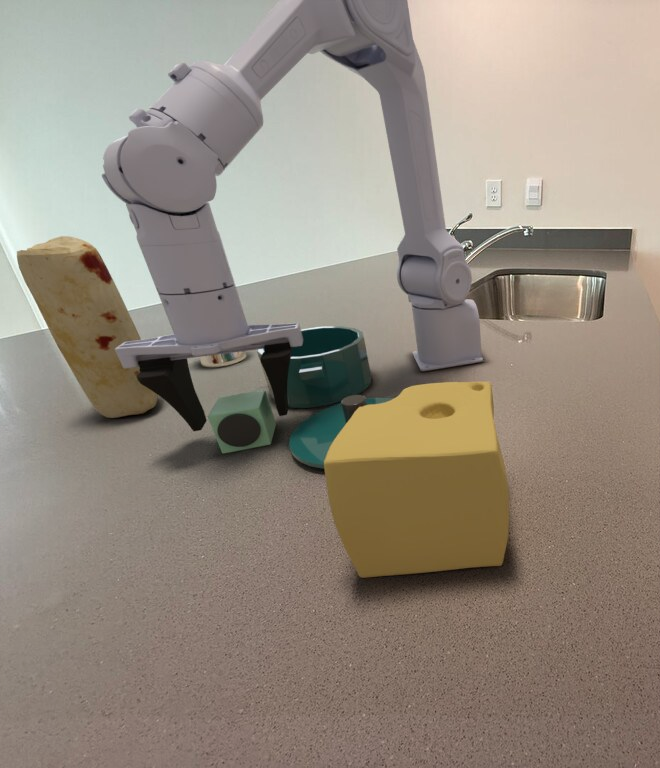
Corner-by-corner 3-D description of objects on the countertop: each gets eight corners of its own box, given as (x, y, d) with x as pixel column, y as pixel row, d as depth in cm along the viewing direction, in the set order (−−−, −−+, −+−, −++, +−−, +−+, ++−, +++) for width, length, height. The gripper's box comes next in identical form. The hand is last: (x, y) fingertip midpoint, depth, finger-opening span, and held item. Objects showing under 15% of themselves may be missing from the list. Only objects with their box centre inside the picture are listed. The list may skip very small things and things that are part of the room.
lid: (413, 397, 51) (409, 366, 50) (435, 454, 40) (430, 416, 38) (297, 418, 47) (287, 385, 45) (285, 489, 36) (271, 448, 34)
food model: (182, 406, 51) (111, 236, 42) (113, 430, 46) (17, 243, 37) (149, 388, 55) (80, 233, 47) (84, 409, 50) (-7, 239, 42)
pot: (367, 357, 65) (359, 317, 62) (376, 406, 50) (367, 356, 47) (280, 369, 61) (268, 327, 58) (262, 427, 46) (244, 374, 43)
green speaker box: (231, 432, 45) (218, 397, 43) (276, 424, 46) (265, 389, 44) (221, 456, 41) (206, 418, 39) (270, 446, 42) (258, 409, 40)
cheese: (381, 485, 36) (361, 383, 32) (502, 476, 37) (498, 376, 33) (349, 587, 27) (314, 463, 22) (512, 573, 27) (508, 450, 23)
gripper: (70, 307, 31) (142, 455, 37) (282, 288, 36) (317, 422, 41) (113, 289, 37) (169, 418, 43) (290, 275, 42) (319, 394, 47)
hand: (243, 418), depth 42 cm, fingers open, 7 cm apart
